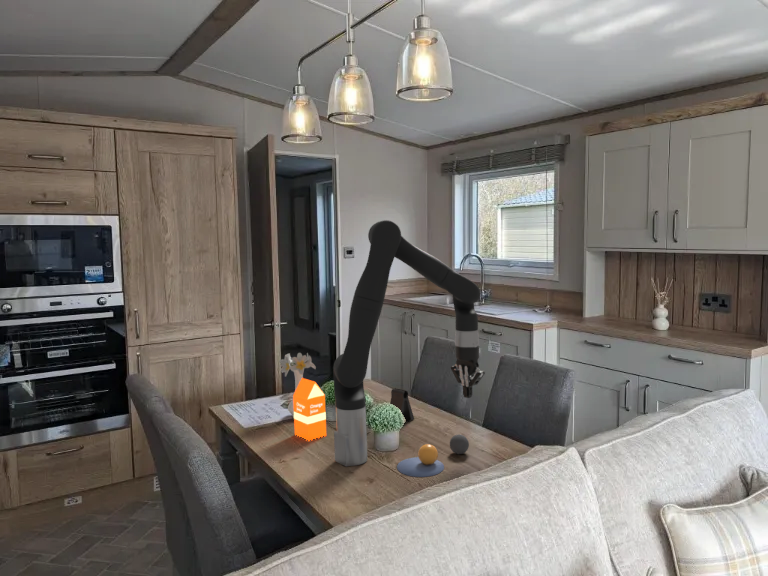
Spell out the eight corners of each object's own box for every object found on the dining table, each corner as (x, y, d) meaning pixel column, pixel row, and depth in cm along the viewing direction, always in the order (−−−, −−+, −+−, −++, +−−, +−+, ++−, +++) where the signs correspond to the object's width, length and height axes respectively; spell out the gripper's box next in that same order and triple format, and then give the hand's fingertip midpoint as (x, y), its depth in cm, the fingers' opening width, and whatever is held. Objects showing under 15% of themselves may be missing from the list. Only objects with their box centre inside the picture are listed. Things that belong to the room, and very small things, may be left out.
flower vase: (298, 407, 229) (295, 347, 227) (326, 416, 216) (324, 353, 214) (271, 414, 220) (268, 352, 218) (298, 425, 207) (296, 359, 204)
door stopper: (397, 425, 203) (397, 393, 202) (386, 422, 208) (385, 390, 206) (414, 419, 210) (413, 388, 209) (402, 416, 214) (401, 385, 213)
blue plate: (419, 481, 156) (419, 480, 156) (387, 466, 167) (387, 465, 167) (453, 467, 165) (453, 466, 165) (421, 454, 176) (421, 453, 176)
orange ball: (445, 455, 168) (434, 471, 166) (431, 449, 173) (420, 465, 170) (435, 443, 166) (424, 459, 163) (422, 437, 170) (410, 453, 168)
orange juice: (308, 441, 190) (305, 384, 188) (294, 435, 197) (291, 379, 195) (327, 435, 195) (324, 379, 193) (312, 429, 202) (310, 375, 200)
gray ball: (475, 443, 176) (465, 460, 174) (460, 436, 181) (450, 452, 179) (467, 435, 173) (458, 452, 171) (452, 428, 177) (443, 444, 175)
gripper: (443, 342, 179) (444, 395, 181) (474, 348, 169) (475, 404, 170) (459, 339, 184) (460, 391, 185) (490, 344, 174) (491, 399, 175)
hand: (467, 397), depth 178 cm, fingers closed
